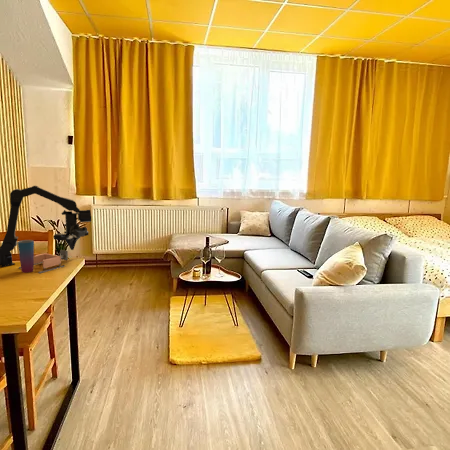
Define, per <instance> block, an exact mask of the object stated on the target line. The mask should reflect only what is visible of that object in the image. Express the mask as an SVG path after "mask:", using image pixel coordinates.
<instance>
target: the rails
mask: <svg viewBox="0 0 450 450" xmlns="http://www.w3.org/2000/svg"><path fill="white" fill-rule="evenodd" d="M40 264H43V262H40V263H36V264H34V266H36V265H40ZM64 266H65V267H66V265H64V264H63V265H60V266H59V265H58V266H55V267H50V268H49V269H45V270H44V269H43V270H40V271H38V272H37V274H43V273H46V272H50V271H54V270H57V268H58V269H61V268H64ZM60 267H61V268H60ZM18 269H21V266H19V267H18Z"/></svg>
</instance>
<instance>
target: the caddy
mask: <svg viewBox="0 0 450 450" xmlns="http://www.w3.org/2000/svg"><path fill="white" fill-rule="evenodd" d="M63 260H64V261H68V260H69V254H68V250H65V249H64V250H63V249H60V250H59V255H55V254H50V253H46V252H45V253H41V254H36V255H34V264H36V263H40V262H43V263H42V269H43V271H44V270H47V268H52V267H54V266H55V267H56V266H58V267H59V266H62V265H61V264H62V261H63ZM40 264H41V263H40ZM36 265H37V264H36Z"/></svg>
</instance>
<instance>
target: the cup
mask: <svg viewBox="0 0 450 450" xmlns="http://www.w3.org/2000/svg"><path fill="white" fill-rule="evenodd" d="M17 248H18V254H19V263H20V267H21V268H20V269H21V272H22V273H23V274H24V273H32V272H34V266H35V265H34V256H35V249H34V248H35V241H34V240H33V239H24V240H22V239H21V240H17Z"/></svg>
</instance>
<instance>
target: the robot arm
mask: <svg viewBox="0 0 450 450" xmlns="http://www.w3.org/2000/svg"><path fill="white" fill-rule="evenodd" d="M34 194H36V195H37V196H39V197H42V198H45V199H47V200H49V201H51V202H54V203H56V204H58V205H59V206H61V207H62V208H64V210H63V211H62V212H61V213H60V214H61V215H62V216H65V224H63V226H64V227H65V231H64V233H61V232H59V233H55V234H54V235H53V240H55V241H65V242H66V243H67V246H68V247H69V249H70V250H71V251H74V249H75V246H76V244H77V241H78V240H79V239H81V237H86V236H89V231H88V227H86V226H83V227H80V224H78V221H79V222H80V223H91V222H92V212H91V209H85V210H84V209H83V210H80V208H78V206H77V203H76V201H75V200H74V199H71V198H67V197H63V196H60V195H57V194H55V193H52V192H51V191H48V190H46V189H43V188H42V187H39V186H38V185H33V186H29V187H25V188H22V189H20V188H15V189H13V190H12V191H10V194H9V197H10V199H9V202H10V210H9V216H8V221H7V227H6V233H5V234H4V238H3V240H2V243H1V245H0V267H2V268H3V267H8V266H12V265H16V263H15V262H13V256H12V255H13V254H12V252H11V251H13V250H14V249H15V247H18V239H19V236H16V229H17V223H18V218H19V213H20V208H21V205H22V203H23V199H24V198H26V197H29V196H31V195H34Z"/></svg>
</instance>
